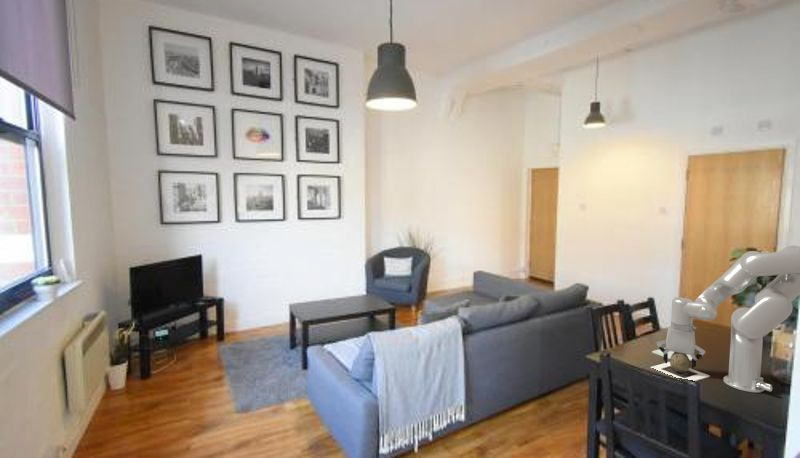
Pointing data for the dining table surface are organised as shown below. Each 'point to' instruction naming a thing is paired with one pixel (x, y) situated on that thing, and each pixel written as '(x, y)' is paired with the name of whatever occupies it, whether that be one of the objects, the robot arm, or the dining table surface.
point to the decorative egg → (680, 362)
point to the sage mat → (668, 354)
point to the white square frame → (694, 377)
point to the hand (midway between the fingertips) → (679, 365)
